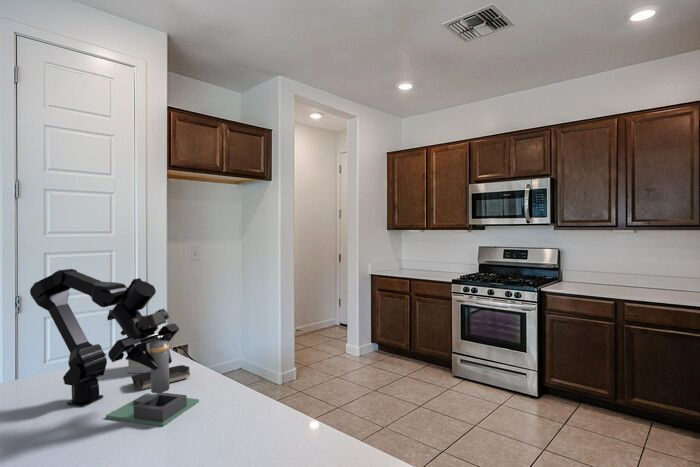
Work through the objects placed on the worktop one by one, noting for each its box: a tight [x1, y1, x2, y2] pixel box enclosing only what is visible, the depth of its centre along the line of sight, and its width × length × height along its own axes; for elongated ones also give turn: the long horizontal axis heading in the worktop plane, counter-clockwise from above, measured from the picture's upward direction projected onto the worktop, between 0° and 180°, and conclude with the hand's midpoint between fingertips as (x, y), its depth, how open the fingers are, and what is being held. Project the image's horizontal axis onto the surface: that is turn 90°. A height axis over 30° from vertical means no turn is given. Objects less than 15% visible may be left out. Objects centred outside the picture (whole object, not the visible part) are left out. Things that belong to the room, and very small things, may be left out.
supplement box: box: [127, 323, 166, 374], centre depth 140 cm, size 9×9×15 cm
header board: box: [105, 392, 200, 427], centre depth 108 cm, size 18×14×4 cm
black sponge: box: [130, 364, 191, 390], centre depth 128 cm, size 16×8×4 cm, turn 129°
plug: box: [150, 341, 170, 394], centre depth 105 cm, size 5×5×12 cm
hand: (163, 365), depth 104 cm, fingers closed on plug, 4 cm apart
